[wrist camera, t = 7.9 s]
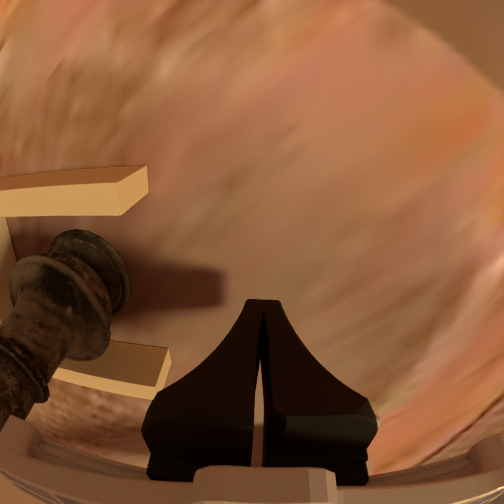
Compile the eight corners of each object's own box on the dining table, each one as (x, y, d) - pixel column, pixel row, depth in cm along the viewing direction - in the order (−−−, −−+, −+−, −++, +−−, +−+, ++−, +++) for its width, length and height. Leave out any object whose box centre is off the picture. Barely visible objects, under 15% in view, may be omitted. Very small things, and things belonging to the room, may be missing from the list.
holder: (171, 362, 18) (159, 400, 15) (33, 337, 18) (13, 364, 15) (146, 165, 13) (117, 182, 10) (-13, 180, 13) (-48, 196, 10)
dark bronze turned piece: (61, 314, 17) (-37, 468, 6) (34, 225, 14) (-122, 369, 3) (145, 323, 16) (63, 528, 6) (125, 222, 14) (-51, 439, 3)
